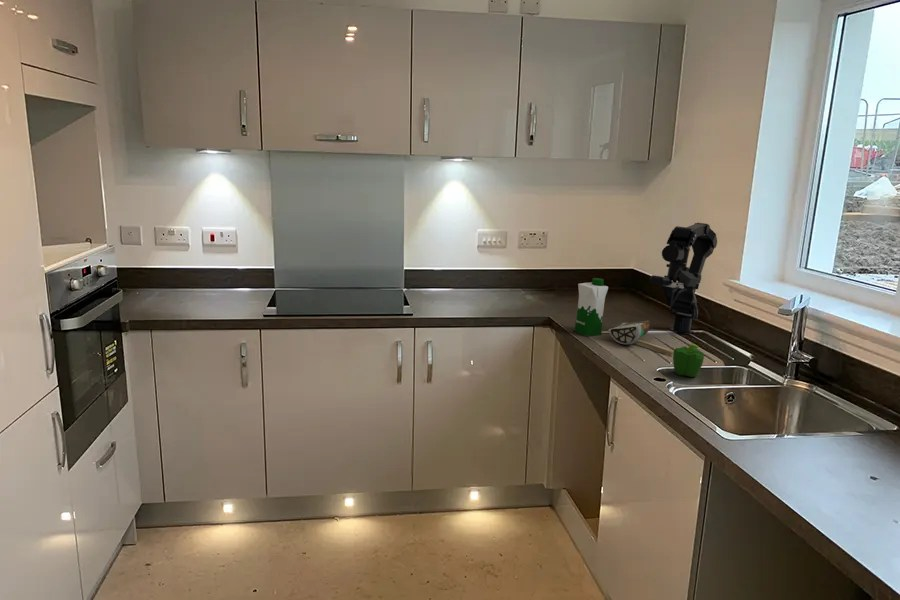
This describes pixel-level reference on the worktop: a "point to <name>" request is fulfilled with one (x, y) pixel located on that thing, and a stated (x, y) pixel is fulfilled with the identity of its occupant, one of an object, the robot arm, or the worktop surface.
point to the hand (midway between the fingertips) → (669, 306)
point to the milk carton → (591, 307)
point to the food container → (629, 332)
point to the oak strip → (654, 347)
